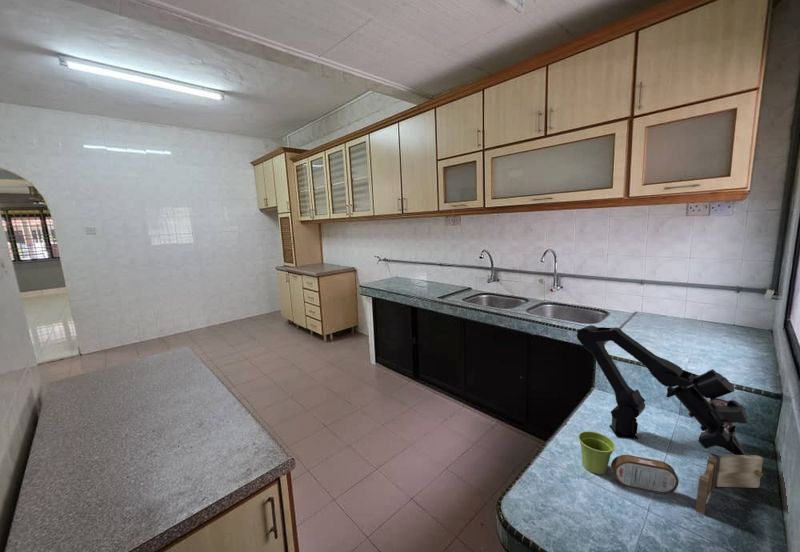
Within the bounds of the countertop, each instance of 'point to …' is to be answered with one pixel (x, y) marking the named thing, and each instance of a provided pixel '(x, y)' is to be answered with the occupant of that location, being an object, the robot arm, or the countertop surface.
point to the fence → (706, 485)
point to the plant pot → (595, 451)
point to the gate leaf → (738, 470)
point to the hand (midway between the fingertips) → (744, 458)
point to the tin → (644, 474)
